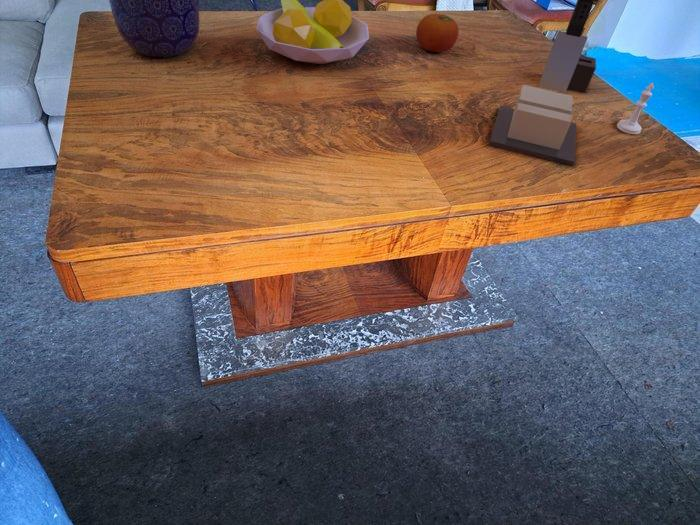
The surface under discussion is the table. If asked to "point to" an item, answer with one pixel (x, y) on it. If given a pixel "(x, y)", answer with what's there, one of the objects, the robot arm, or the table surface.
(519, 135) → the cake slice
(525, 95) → the cake
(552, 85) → the knife
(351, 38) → the fruit bowl
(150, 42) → the planter
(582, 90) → the knife block
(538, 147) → the cake board
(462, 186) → the table surface
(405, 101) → the table surface
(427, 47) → the fruit
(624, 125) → the chess piece
